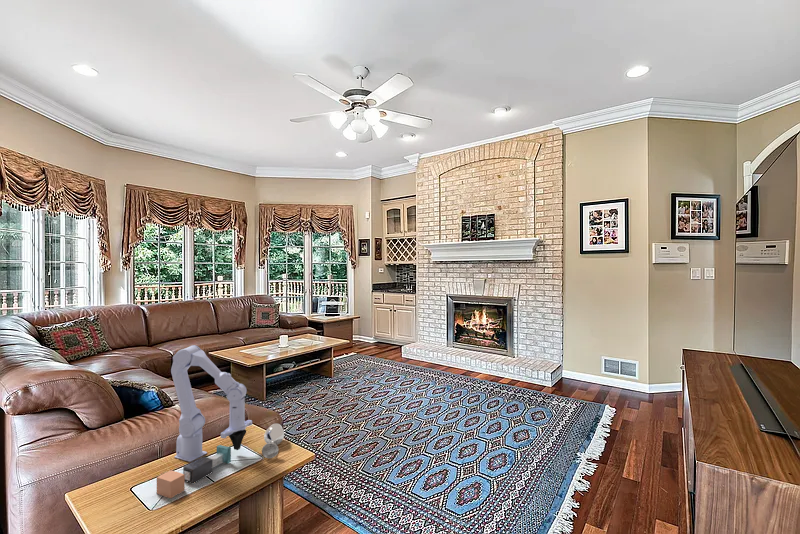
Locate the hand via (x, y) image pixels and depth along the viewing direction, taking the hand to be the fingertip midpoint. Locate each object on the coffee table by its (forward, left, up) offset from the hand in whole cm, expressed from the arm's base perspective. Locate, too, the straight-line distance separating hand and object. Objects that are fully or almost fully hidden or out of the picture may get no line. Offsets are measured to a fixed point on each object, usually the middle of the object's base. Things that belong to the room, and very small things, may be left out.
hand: (237, 448), depth 154 cm
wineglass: (+15, +3, +1) cm, 15 cm away
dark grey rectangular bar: (0, -18, -2) cm, 18 cm away
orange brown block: (0, -28, -2) cm, 29 cm away
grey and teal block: (0, -14, -2) cm, 14 cm away
